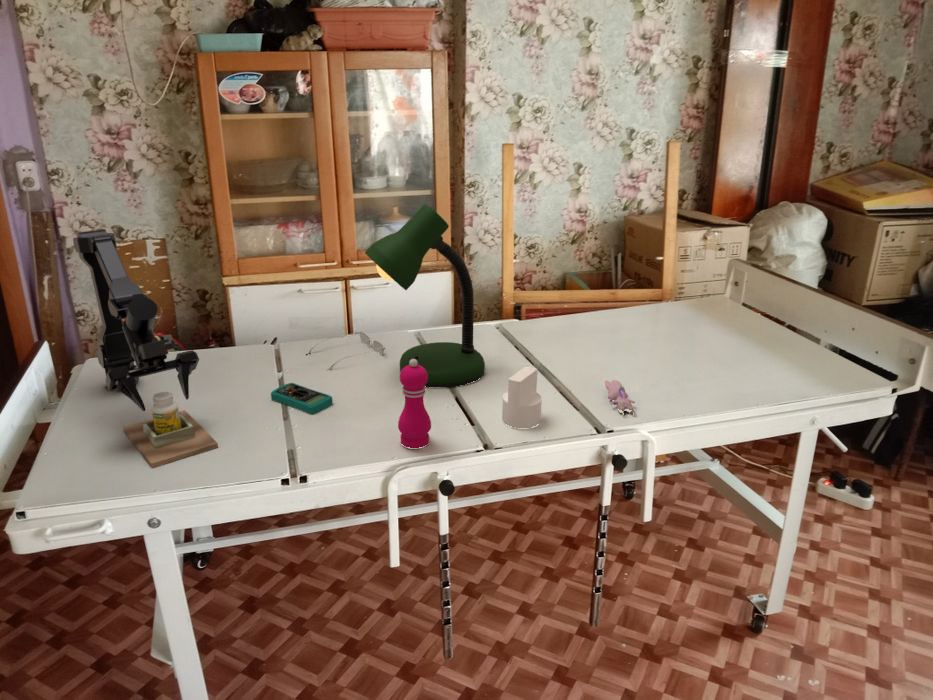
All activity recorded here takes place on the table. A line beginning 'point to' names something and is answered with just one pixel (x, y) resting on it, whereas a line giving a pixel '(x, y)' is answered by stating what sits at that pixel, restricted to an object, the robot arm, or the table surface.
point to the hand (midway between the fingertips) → (166, 404)
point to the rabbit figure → (618, 395)
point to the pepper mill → (414, 407)
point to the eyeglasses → (364, 339)
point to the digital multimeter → (301, 398)
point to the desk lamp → (402, 264)
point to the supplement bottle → (165, 413)
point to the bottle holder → (169, 440)
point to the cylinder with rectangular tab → (522, 400)
